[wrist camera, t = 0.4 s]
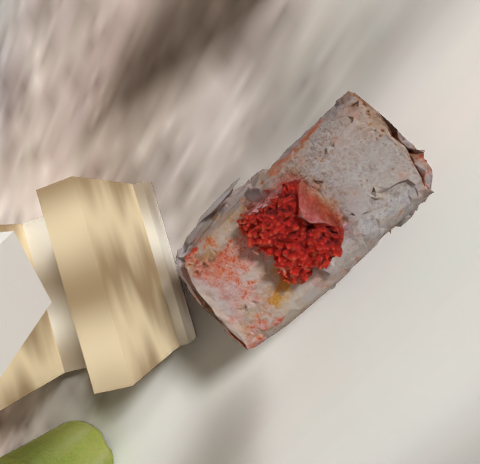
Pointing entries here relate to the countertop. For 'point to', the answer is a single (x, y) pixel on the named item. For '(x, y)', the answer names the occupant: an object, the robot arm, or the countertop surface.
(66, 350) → the stand
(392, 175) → the food item
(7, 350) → the robot arm
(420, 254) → the countertop surface
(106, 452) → the plant pot
